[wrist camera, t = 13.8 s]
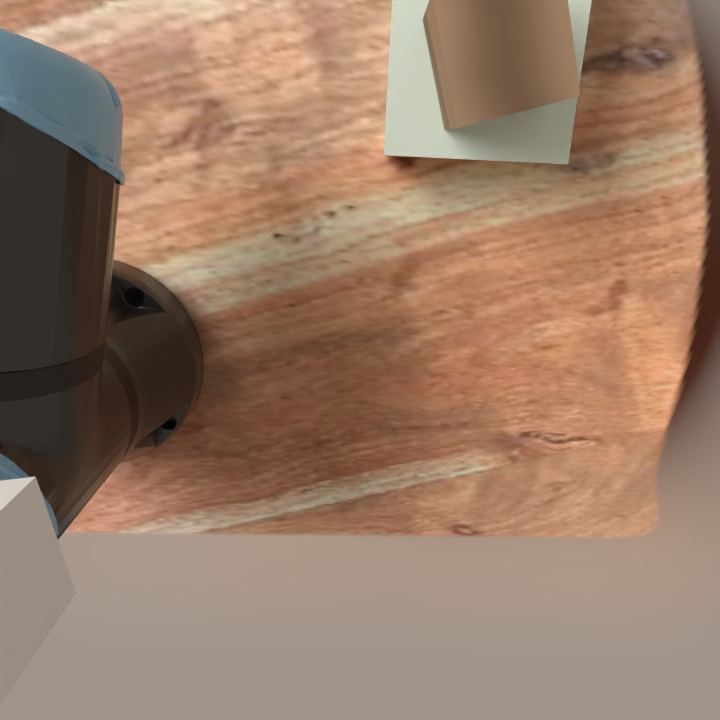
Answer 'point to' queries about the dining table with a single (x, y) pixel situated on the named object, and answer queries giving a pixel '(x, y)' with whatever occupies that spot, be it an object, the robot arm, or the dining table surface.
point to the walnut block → (499, 57)
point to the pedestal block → (480, 140)
